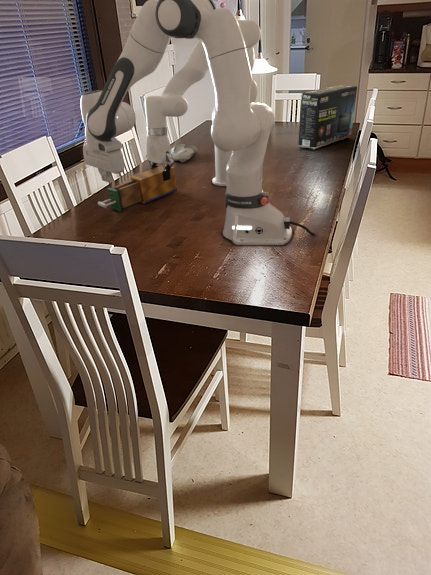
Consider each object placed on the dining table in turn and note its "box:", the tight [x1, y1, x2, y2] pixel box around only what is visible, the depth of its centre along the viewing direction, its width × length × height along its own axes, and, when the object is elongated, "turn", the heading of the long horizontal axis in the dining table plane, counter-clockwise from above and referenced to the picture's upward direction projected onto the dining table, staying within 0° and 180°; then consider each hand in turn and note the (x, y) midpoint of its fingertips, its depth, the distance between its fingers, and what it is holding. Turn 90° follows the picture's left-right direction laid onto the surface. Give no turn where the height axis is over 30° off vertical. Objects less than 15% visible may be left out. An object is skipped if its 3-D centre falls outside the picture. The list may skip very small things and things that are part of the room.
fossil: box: [170, 142, 199, 163], centre depth 229 cm, size 18×11×15 cm
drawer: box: [97, 180, 143, 212], centre depth 172 cm, size 22×5×8 cm, turn 136°
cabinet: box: [130, 164, 178, 205], centre depth 180 cm, size 17×6×10 cm, turn 136°
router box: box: [297, 84, 358, 151], centre depth 238 cm, size 36×11×27 cm, turn 134°
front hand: (106, 181), depth 164 cm, fingers closed
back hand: (161, 177), depth 182 cm, fingers closed on cabinet, 6 cm apart
